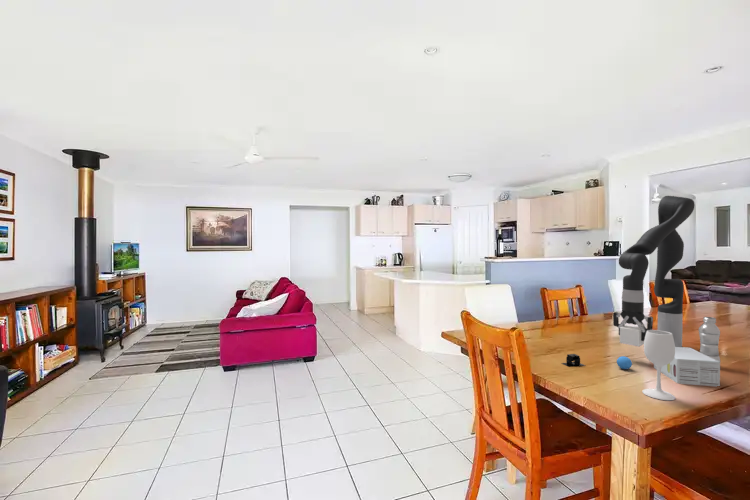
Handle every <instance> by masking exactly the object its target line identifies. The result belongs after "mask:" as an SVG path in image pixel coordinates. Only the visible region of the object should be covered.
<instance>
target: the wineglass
mask: <svg viewBox="0 0 750 500" xmlns="http://www.w3.org/2000/svg"><path fill="white" fill-rule="evenodd" d="M643 353H644V356H645V357H646V359H647V360H648V361H649V362H650V363H652V364H653V365H654V364H655V366H656V368H657V370H656V385H655V388H644V389H642V391H641V392H642V394H643V395H646V396H648V397H649V398H653V399H656V400H661V401H674V400H675V401H676V399H677V398H676V396H675V395H673V394H672V393H671V392H668V391H666V390H663V389H662V383H661V381H662V380H661V379H662V378H661V374H662V373H661V368H662V366H664V365H667V364H669V363H670V362H672V361H673V359H674V356H675V344H674V339H673V335H672V333H670V332H666V331H660V330H658V329H652V330H648V331H647V332H646V335H645V339H644V344H643Z"/></svg>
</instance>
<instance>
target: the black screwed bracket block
mask: <svg viewBox="0 0 750 500" xmlns="http://www.w3.org/2000/svg"><path fill="white" fill-rule="evenodd" d="M565 359H566V360H565V361H566V362H561V363H560V364H561V365H564V366H566V367H567V368H575V367H586V365H585V364H583V363H582V362H581V356H580V355H579V354H577V353H570V354H569V353H567V355H566V358H565Z"/></svg>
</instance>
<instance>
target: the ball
mask: <svg viewBox="0 0 750 500" xmlns="http://www.w3.org/2000/svg"><path fill="white" fill-rule="evenodd" d="M616 364H617V366H618V368H620V369H622V370H629V369H630V368H632V366H633V361H632V360H631V359H630V358H629V357H628V356H619V357H618V358H617V359H616Z"/></svg>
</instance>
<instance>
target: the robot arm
mask: <svg viewBox="0 0 750 500" xmlns="http://www.w3.org/2000/svg"><path fill="white" fill-rule="evenodd" d="M694 210H695V201H694V200H693V199H692V198H690V197H683V196H676V195H665V196H663V197H662V198H661V199H660V200H659V202H658V207H657V215H658V217H657V218H658V225H657V224H656V225H655V226H653V227H651V228H649V229H648V230H646V231H645V232H644V233H643V234H642V235H641V236H640V237H639V239H638V240H637V241H636V243H634V244H633V245H632V246H630V247H628V248H627V249H626V250H625V251H623V252H622V254H620V256H619V259H618V265H619V267H620V268H622V269H624V270H631V272H630V274H628V275H625V276H623V278H622V291H621V292H622V293H621V312H618V311H615V312H613V313H612V319H613V323H612V324H613V326H614V327H617V328H618V335H619V336H620V327H623V326H624V325H628V324H629V325H633V326H637V327H639V328H640V329H641V331H642V332H641V341H644V339H645V335H646V332H647V331H648V330H653V326H654V325H653V324H654V317H653V316H646V315H645V314H644V309H645V308H644V307H645V305H644V304H645V303H644V301H645V295H644V280H645V277H646V274H647V271H648V268H649V265H650V264H649V259H648V257H647V256H649V255H652V254H653V253H654V252H655V251H656V253H657V254H656V271H655V279H654V285H653V291H654V295H655V297H658V298H663V299H672V300H671V301H669V302H667V303H663V304H659V305H658V306H657V330H660V331H666V332H670V333H672V335H673V339H674V344H675V347H683V322H684V321H683V316H684V315H683V313H684V312H683V307H684V306H683V303H684V301H683V300H684V292H685V291H684V290H685V288H684V285H685V284H684V282H683V280H682V279H679V278H666V277H667V275H668V273H669V272H670V271H671V270H672V269H673V268H674V267H675V266H676V265H678V264H679V263H680V262H681V260H682V259H683V257H684V250H685V249H684V248H685V243H684V240H683V238H682V237H681V235H680V233H678V231H677V229H678V227H679V226H681V225H682V224H683V223H684V222H685V221H687V220H688V218H689V217H690V216H691V215H692V214H693V212H694ZM620 317H621V318H622V319H623V320H622V321H621V322H620V321H619V318H620ZM644 320H645V322H646V326H645V323H644V322H643V321H644ZM619 322H620V323H619Z"/></svg>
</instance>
